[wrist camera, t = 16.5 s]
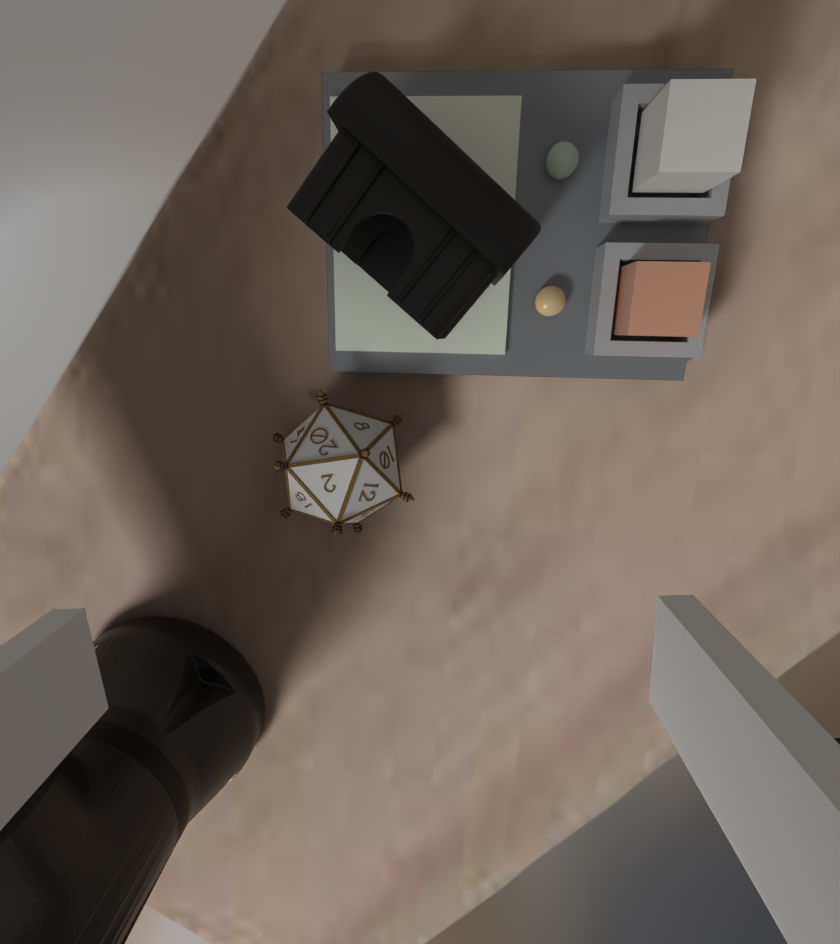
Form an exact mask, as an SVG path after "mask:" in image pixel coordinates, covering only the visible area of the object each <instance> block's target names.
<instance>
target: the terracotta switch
mask: <svg viewBox="0 0 840 944" xmlns="http://www.w3.org/2000/svg"><path fill="white" fill-rule="evenodd" d="M710 265H711V262H665V261H636V262H633V263H631V264H628V265H625V266H623V267H620V268H619V271H618V280H617V288H616V296H615V305H614V313H613V322H612V330H611V335H628V336H674V337H699V332H700V326H701V320H702V314H703V308H704V302H705V296H706V290H707V284H708V278H709V271H710Z"/></svg>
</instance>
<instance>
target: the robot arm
mask: <svg viewBox="0 0 840 944" xmlns="http://www.w3.org/2000/svg"><path fill="white" fill-rule="evenodd" d="M649 702H650V704H651V706H652V708H653V709H654V711H655V713H656V715H657V716H658V718H659V720H660V722H661V723H662V725H663V727H664V729H665V730H666V732H667V734H668V736H669V737H670V739H671V741H672V743H673V744H674V746H675V748H676V750H677V751H678V753H679V755H680V756H681V758H682V760H683V762H684V763H685V765H686V767H687V768H688V770H689V772H690V774H691V776H692V777H693V779H694V781H695V783H696V784H697V786H698V788H699V789H700V791H701V793H702V795H703V797H704V798H705V800H706V802H707V803H708V805H709V807H710V809H711V810H712V812H713V814H714V816H715V817H716V819H717V821H718V823H719V824H720V826H721V828H722V830H723V831H724V833H725V835H726V836H727V838H728V840H729V842H730V843H731V845H732V847H733V849H734V850H735V852H736V854H737V856H738V858H739V859H740V861H741V863H742V864H743V866H744V868H745V870H746V871H747V873H748V875H749V877H750V878H751V880H752V882H753V884H754V885H755V887H756V889H757V890H758V892H759V894H760V896H761V898H762V899H763V901H764V903H765V905H766V906H767V908H768V910H769V912H770V913H771V915H772V917H773V918H774V920H775V922H776V924H777V925H778V927H779V929H780V931H781V932H782V934H783V936H784V938H785V939H786V941H787V943H788V944H840V738H832V736H831V735H830V734H829V733H828V732H827V731H826V730H825V729H824V728H823V727H822V726H821V725H820V724H819V723H818V722H817V721H816V720H815V719H814V718H813V717H812V716H811V715H810V714H809V713H808V712H807V711H806V710H805V709H804V708H803V707H802V706H801V705H800V704H799V703H798V702H797V701H796V700H795V699H794V698H793V697H792V696H791V695H790V694H789V693H788V692H787V690H785V689H784V687H783V686H782V685H781V684H780V683H779V682H778V681H777V680H776V679H775V678H774V677H773V676H772V675H771V674H770V673H769V672H768V671H767V670H766V669H765V668H764V667H763V666H762V665H761V664H760V663H759V662H758V661H757V660H756V659H755V658H754V657H753V656H752V655H751V654H750V653H749V652H748V651H747V650H746V649H745V648H744V647H743V645H742V644H741V643H740V642H739V641H738V640H737V639H736V638H735V637H734V636H733V635H732V634H731V633H730V632H729V631H728V630H727V629H726V628H725V627H724V626H723V625H722V624H721V623H720V622H719V621H718V620H717V619H716V618H715V617H714V616H713V615H712V614H711V613H710V612H709V611H708V610H707V609H706V608H705V607H704V606H703V605H702V604H701V603H700V602H699V601H698V600H697V598H696V597H695V596H694V595H670V596H658V599H657V611H656V622H655V634H654V646H653V657H652V669H651V681H650V693H649ZM263 721H264V701H263V696H262V692H261V689H260V686H259V683H258V681H257V679H256V677H255V675H254V673H253V671H252V670H251V668H250V667H249V665H248V664H247V663H246V661H245V660H244V659H243V658H242V656H241V655H240V654H239V653H238V652H237V651H236V650H235V649H234V648H233V647H232V646H230V645H229V644H228V643H227V642H225V641H224V640H223V639H221V638H220V637H218V636H217V635H215V634H214V633H212V632H210V631H208V630H206V629H204V628H202V627H200V626H197V625H195V624H192V623H189V622H186V621H182V620H178V619H173V618H165V617H145V618H138V619H133V620H129V621H126V622H123V623H120V624H118V625H116V626H114V627H112V628H111V629H109V630H108V631H106V632H105V633H103V634H102V635H101V636H100V637H99V638H98V639H96V640H95V641H94V642H93V641H92V637H91V633H90V628H89V624H88V620H87V616H86V612H85V608H81V609H52V610H51V611H50V612H48V613H47V614H45V615H44V616H43V617H41V618H40V619H38V620H37V621H36V622H34V623H33V624H31V625H30V626H29V627H27V628H26V629H24V630H23V631H22V632H20V633H19V634H17V635H16V636H15V637H13V638H12V639H10V640H9V641H8V642H6V643H5V644H3V645H2V646H0V944H125V942H126V940H127V938H128V936H129V934H130V932H131V930H132V928H133V926H134V924H135V922H136V921H137V919H138V917H139V915H140V913H141V911H142V909H143V907H144V905H145V903H146V901H147V900H148V898H149V896H150V894H151V892H152V890H153V888H154V886H155V884H156V882H157V880H158V879H159V877H160V875H161V873H162V871H163V869H164V867H165V865H166V863H167V861H168V859H169V857H170V856H171V854H172V852H173V849H174V848H175V846H176V844H177V842H178V840H179V838H180V837H181V835H182V833H183V831H184V829H185V827H186V826H187V824H188V823H189V822H190V821H191V820H192V819H193V818H194V817H195V816H196V815H197V814H198V813H199V812H200V811H201V810H202V809H203V808H204V807H205V806H206V805H207V804H208V803H209V802H210V801H211V800H212V799H213V797H214V796H215V795H216V794H217V793H218V792H219V791H220V790H221V789H222V788H223V787H224V786H225V785H226V784H227V783H228V782H229V781H230V780H232V779H233V778H234V777H235V776H236V775H237V774H238V773H239V771H240V770H241V769H242V767H243V766H244V765H245V763H246V762H247V760H248V758H249V756H250V754H251V752H252V750H253V748H254V746H255V744H256V742H257V740H258V738H259V735H260V733H261V730H262V726H263Z"/></svg>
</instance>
